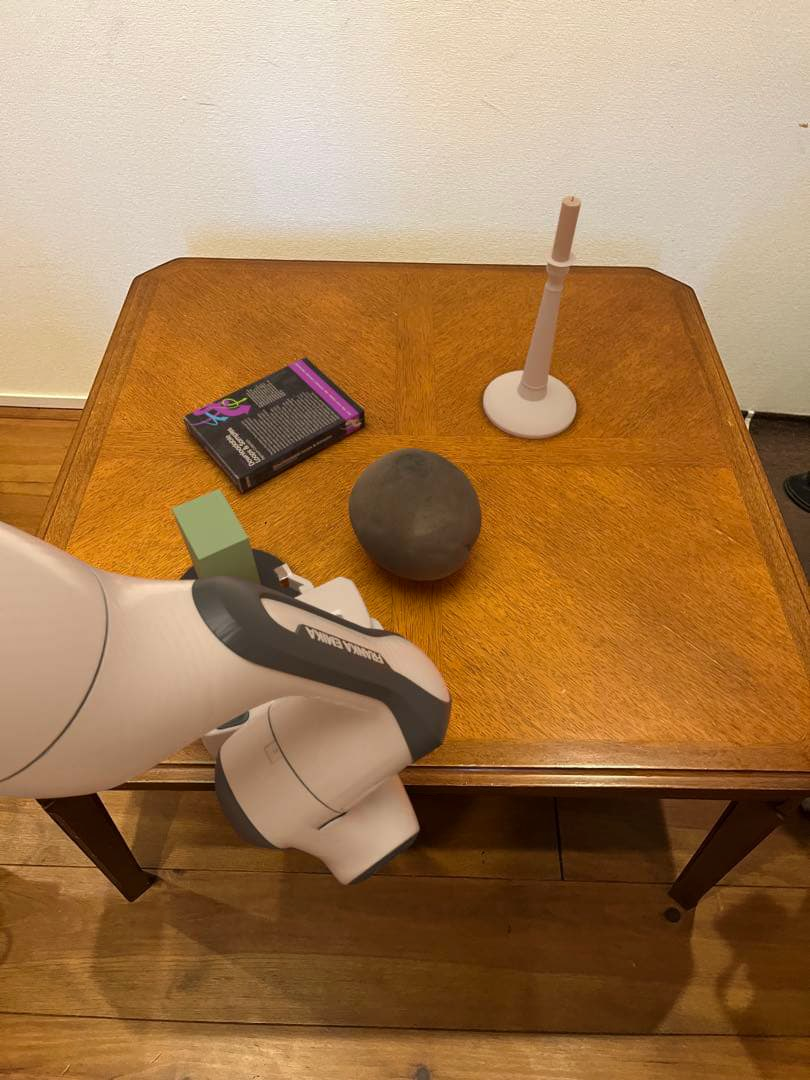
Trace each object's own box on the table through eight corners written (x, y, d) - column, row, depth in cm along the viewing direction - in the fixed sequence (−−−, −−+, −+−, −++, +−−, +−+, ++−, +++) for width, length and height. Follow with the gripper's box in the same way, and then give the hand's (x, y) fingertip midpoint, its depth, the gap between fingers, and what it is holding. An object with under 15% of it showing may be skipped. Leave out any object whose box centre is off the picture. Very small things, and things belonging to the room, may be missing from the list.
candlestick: (470, 382, 105) (495, 173, 80) (554, 367, 107) (603, 159, 82) (501, 446, 97) (538, 238, 73) (590, 429, 99) (655, 221, 75)
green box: (226, 633, 79) (198, 559, 68) (201, 585, 83) (171, 508, 71) (268, 612, 81) (248, 537, 69) (242, 566, 84) (219, 488, 73)
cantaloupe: (447, 497, 92) (455, 409, 80) (493, 587, 84) (510, 506, 72) (339, 526, 89) (331, 440, 77) (376, 623, 81) (373, 544, 69)
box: (308, 374, 106) (186, 432, 98) (306, 354, 103) (180, 412, 95) (366, 429, 99) (240, 495, 92) (366, 410, 96) (235, 476, 89)
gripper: (397, 633, 67) (327, 528, 74) (184, 744, 61) (129, 617, 68) (397, 664, 72) (331, 563, 79) (200, 769, 66) (147, 649, 73)
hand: (236, 589), depth 73 cm, fingers open, 8 cm apart
